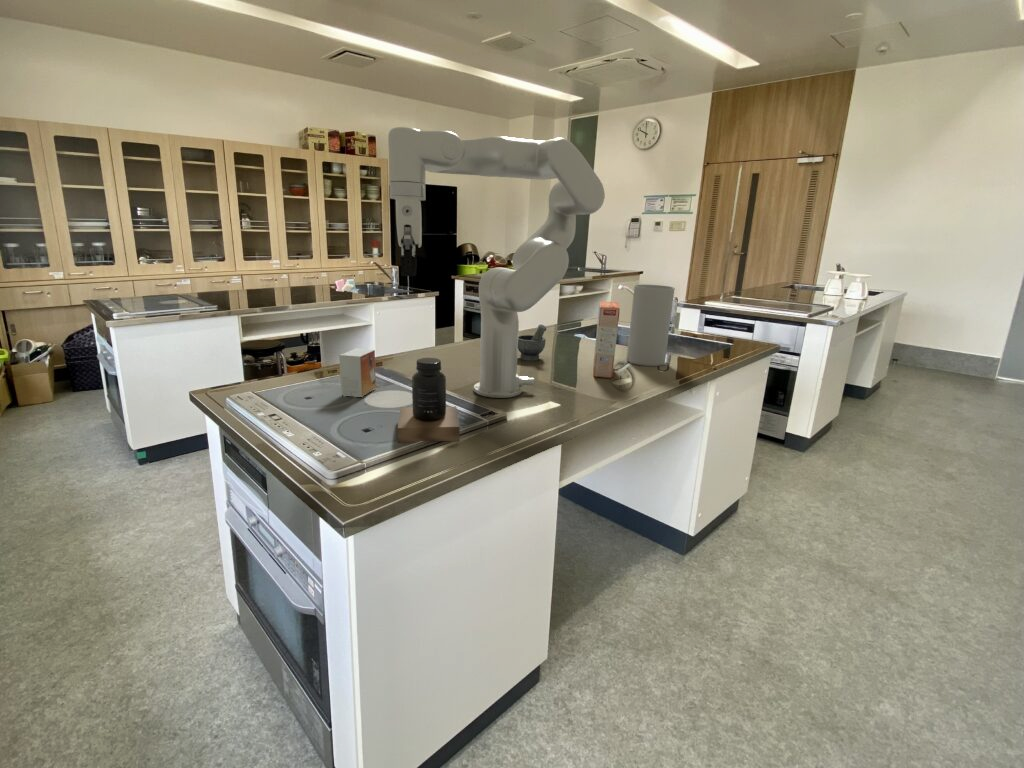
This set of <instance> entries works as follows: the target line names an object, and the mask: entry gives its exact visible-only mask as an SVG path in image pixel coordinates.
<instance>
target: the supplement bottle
mask: <svg viewBox="0 0 1024 768" xmlns="http://www.w3.org/2000/svg"><path fill="white" fill-rule="evenodd" d="M441 364H442V361H441V359H440V358H436V357H421V358H419V359H417V360H416V369H415V370H416V371H417V372H415V373H413V375H412V377H411V393H412V395H411V396H412V397H411V398H412V400H411V401H412V407H413V416H414V418H416V419H417V420H420V421H427V422H430V421H437V420H440V419H442V418H444V417H445V415H446V407H447V379H446V375H445V374H444V373H443V372H442V365H441Z"/></svg>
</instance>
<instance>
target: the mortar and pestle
mask: <svg viewBox="0 0 1024 768" xmlns="http://www.w3.org/2000/svg"><path fill="white" fill-rule="evenodd" d="M546 331H547V327H546V325H544V324H538V327H537V330H536V331H535V333H534V335H533V334H524V335H522V334H519V335H518V351H519V352H520V353H521V354H520V359H521V360H523V361H529V362H531V361H538V360H540V354H541V353H542V352H543V351H544V349H545V347H546V338H545V336H544V334H545V332H546Z"/></svg>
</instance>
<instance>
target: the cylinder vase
mask: <svg viewBox="0 0 1024 768" xmlns="http://www.w3.org/2000/svg"><path fill="white" fill-rule="evenodd" d="M674 296H675V287H674V286H668V285H661V284H659V285H658V284H635V285H634V286H633V296H632V305H631V315H630V324H629V335H628V341H627V342H628V343H627V352H626V360H627V362H628V363H630V364H633V365H635V366H642V367H659V366H663V365H665V364H666V358H667V350H668V343H669V342H668V341H669V334H670V327H671V320H672V312H673V311H672V310H673V305H674V298H675V297H674Z"/></svg>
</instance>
